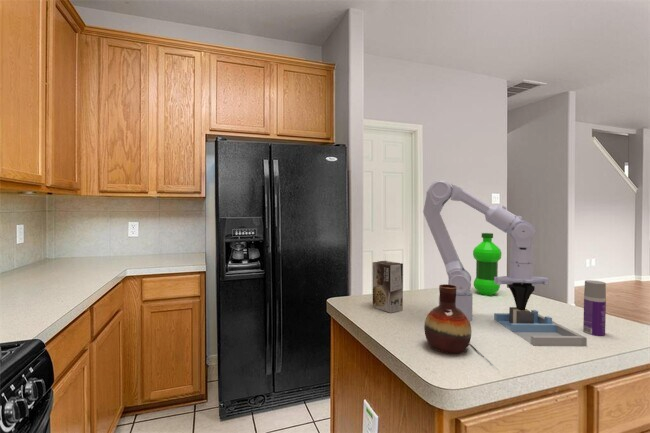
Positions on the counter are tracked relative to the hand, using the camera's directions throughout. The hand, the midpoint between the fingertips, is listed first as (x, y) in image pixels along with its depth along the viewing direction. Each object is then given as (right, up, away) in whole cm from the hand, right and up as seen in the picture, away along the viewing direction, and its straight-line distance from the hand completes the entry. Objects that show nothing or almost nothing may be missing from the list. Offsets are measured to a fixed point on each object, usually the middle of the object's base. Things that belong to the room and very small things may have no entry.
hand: (520, 309), depth 97 cm
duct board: (+1, -6, -5) cm, 8 cm away
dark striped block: (0, -5, 0) cm, 5 cm away
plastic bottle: (+10, -5, +42) cm, 43 cm away
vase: (-26, -6, -13) cm, 30 cm away
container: (+17, -6, -5) cm, 19 cm away
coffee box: (-35, -6, +20) cm, 41 cm away
